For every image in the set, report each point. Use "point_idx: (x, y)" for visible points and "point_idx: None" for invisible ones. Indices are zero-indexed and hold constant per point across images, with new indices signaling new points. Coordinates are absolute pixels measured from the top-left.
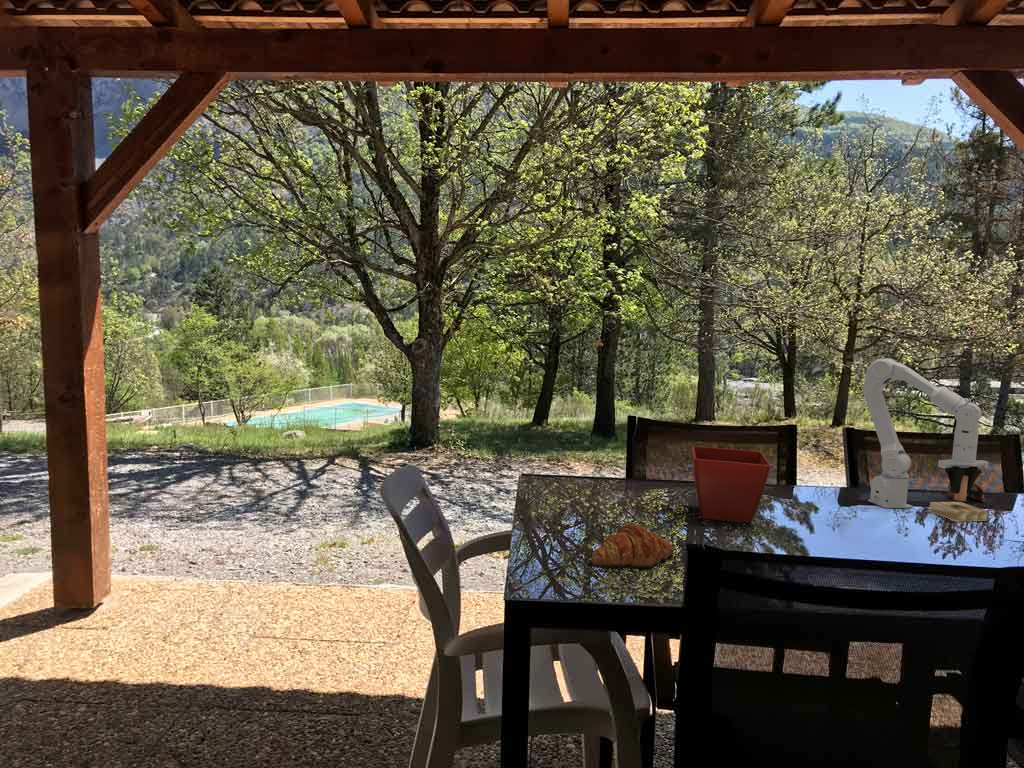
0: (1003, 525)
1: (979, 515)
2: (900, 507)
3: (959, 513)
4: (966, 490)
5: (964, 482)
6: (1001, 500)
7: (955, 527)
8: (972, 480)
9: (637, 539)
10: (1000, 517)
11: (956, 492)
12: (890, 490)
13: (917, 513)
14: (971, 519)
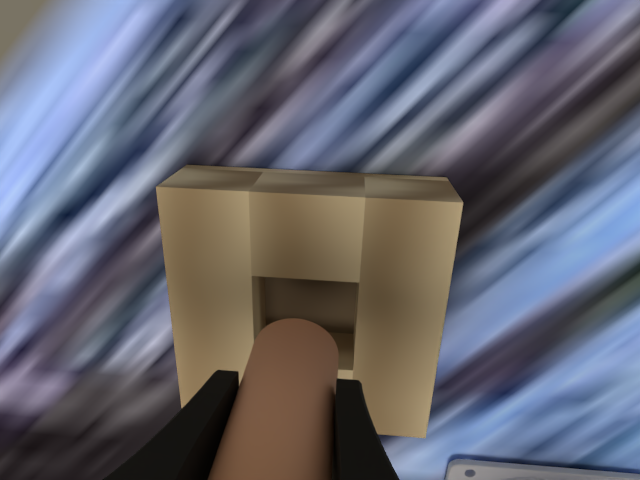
0: (121, 66)
1: (239, 180)
2: (541, 466)
3: (430, 194)
4: (257, 386)
5: (282, 464)
6: None
7: (596, 39)
8: (160, 472)
9: None
10: (5, 249)
11: (361, 391)
12: None
13: (529, 373)
14: (311, 176)
